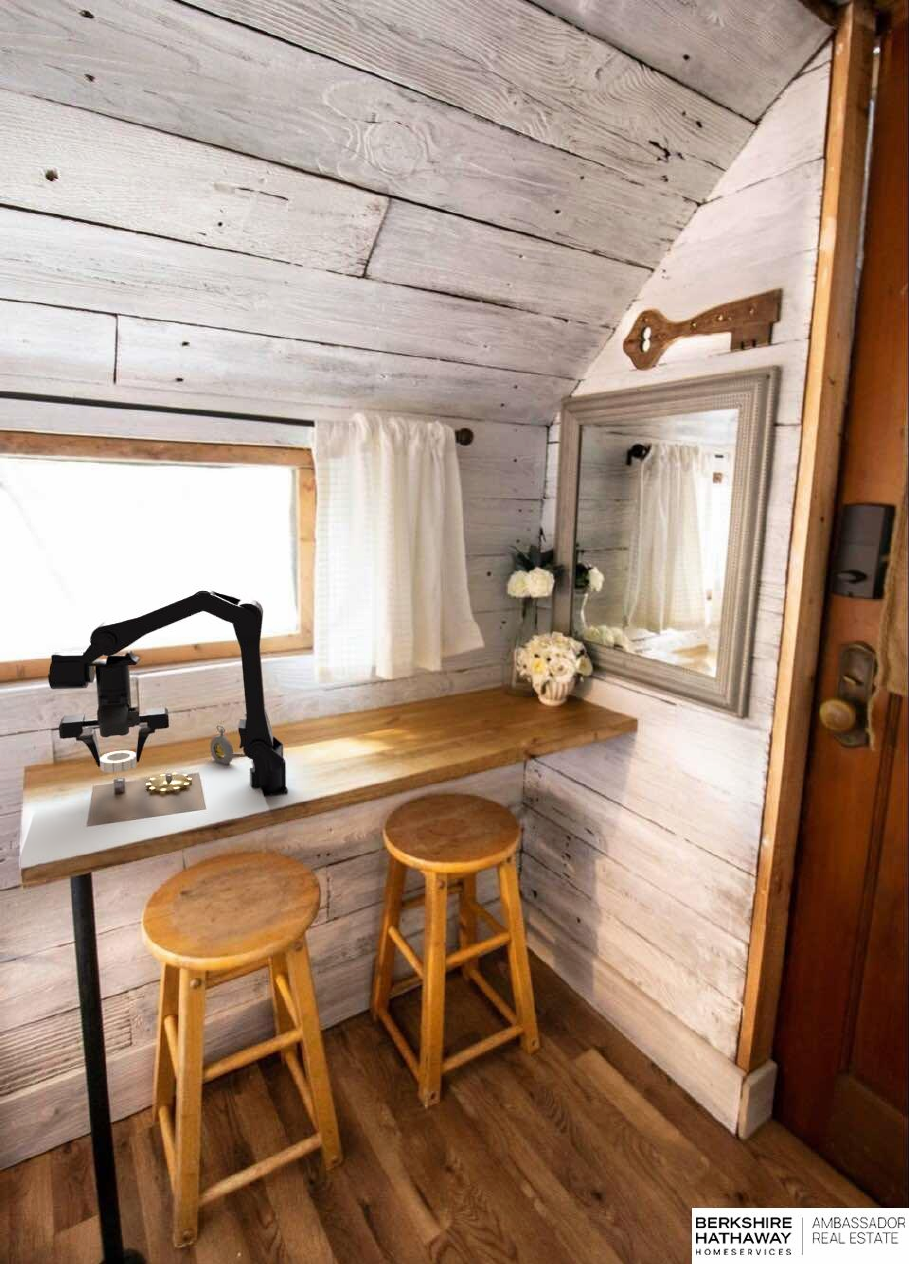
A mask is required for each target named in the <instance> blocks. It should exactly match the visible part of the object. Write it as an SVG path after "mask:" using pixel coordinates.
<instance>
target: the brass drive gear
mask: <svg viewBox="0 0 909 1264" xmlns="http://www.w3.org/2000/svg"><path fill="white" fill-rule="evenodd" d="M187 774H188V773H184V774H179V773H178V772H172V774H171V773H167V774H165V773H163V774H162V773H161V774H159V775H158V777H151V778H148V779H149V783H146V790H149V792H150V793H151V794H154V793H161V795H166V793H173V792H174V793H175V794H176V793H180V790H182V789H188V788H190V784H192V778H188V775H187Z"/></svg>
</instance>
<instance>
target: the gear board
mask: <svg viewBox="0 0 909 1264" xmlns="http://www.w3.org/2000/svg"><path fill="white" fill-rule="evenodd" d="M186 774H187V775H188V778H192V784H190V788H188V789H182V790H180V793H176V794H175V793H174V792H173V793H166V795H161V793H154V794H151V793H150V792H149V790H146V783H149V779H150V778H147V779H136V780H129V781H125V789H126V792H125V793H124V794H119V795H117V794H115V793H114V782H113V783H104V784H97V785H92V789H91V790H92V791H91V797H90V803H89V808H88V809H89V810H88V815H87V822H86V827H93V826H102V825H107V824H114V823H120V822H121V823H122V822H127V821H136V820H140V819H141V820H142V819H149V818H155V817H162V816H170V815H175V814H181V813H190V812H196V811H201V810H202V811H203V810H207V807H206V799H205V796H204V795H205V794H204V792H203V791H204V790H203V785H202V781H201V780H202V779H201V776H200V775H201V774H200V772H194V773H186Z"/></svg>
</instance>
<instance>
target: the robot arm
mask: <svg viewBox="0 0 909 1264" xmlns="http://www.w3.org/2000/svg"><path fill="white" fill-rule="evenodd" d="M201 612H206V613H208V614H209V615H212V616H214V617H216V618H218V619H220V620H222V621H225V622H228V623H229V624H231V625H232V626H233V630H234V634H235V638H236V640H237V642H238V645H239V649H240V653H241V654H240V656H241V665H242V666H241V667H242V668H241V669H242V679H243V688H244V689H243V690H244V700H245V702H244V703H245V712H246V716H245V719H244V718H243V719H242V718H240V719H239V723H238V728H237V732H238V736H239V738H240V742H239V749H242V751H243V754H245V755H246V756H247V758H248V759H249V758H250V759H249V760H252V761H251V762H252V763H251V764H252V767H250V768H249V784H250V787H251V789H260V790H261V791H262V794H263V796H264V797H267V796H274V795H275V796H276V795H280V794H281V795H282V794H287V793H289V790H288V787H287V781H286V780H287V777H286V775H287V771H286V770H287V769H286V768H287V767H286V763H287V762H286V760H285V758H284V744H283V742H281V741H280V740H279V739H277V738H276V737H275V736H274V733H273V730H272V729H273V728H272V726H271V721H270V719H269V715H268V714H267V710H266V704H265V703H266V702H265V693H264V692H265V690H264V678H263V677H264V676H263V669H262V668H263V665H262V655H261V653H262V652H261V640H262V639H261V636H262V628H263V618H264V608H263V606H262V604H261V603H260V602H259V601H257V600H255V599H253V598H243V599H241V598H238V597H235V596H234V595H229V594H226V593H221V592H218V591H215V590H213V589H211V588H208V587H201V588H199V589H198V590H196V591H195V592H192V593H190V594H187V595H185V596H182V597H180V598H177V599H175V600H172V601H170V602H167V603H165V604H163V605H160V606H157V607H155V608H152V609H151V610H148V611H146V612H143V613H140V614H135V615H129V616H123V617H118V618H114V619H109V620H106V621H105V622H103V623H101V624H100V625H99V626H97V627H96V628H95V629H94V630H93V631H92V632H91V634H90V638H89V643H90V644H89V646H88V647H87V648H86V649H85V650H84V651H83V652H76V653H75V652H73V653H67V652H55V653H53V654H52V655H51V656H50V659H51V660H50V661H51V662H50V664H49V671H48V672H49V673H48V674H47V678H48V680H47V681H48V685H49V688H50V689H51V690H76V689H87V688H88V686H89V684H92V683H94V680H95V682H96V683H95V684H96V694H97V695H96V698H97V710H96V715H97V718H88V719H86V716H85V713H82V714H71V715H64V716H63V717H62V718H61V719H60V722H59V725H58V734H59V739H63V740H65V739H74V738H75V741H76V742H82V743H84V744H85V745H86V747H87V748H88V750H89V751H90V753H91V755H92V757H93V759H94V760H95V761H94V762H95V764H96V765H97V767H98V768H99V767H100V757H101V752H100V747H99V742H98V737H97V732H96V729H99V735H100V736H101V738H110V737H116V736H121V737H122V736H127V735H128V734H129V733H130V728H135V727H136V726H138V730H137V738H136V739H137V741H136V752H135V753H136V757H137V763H139V762H140V759H141V756H142V753H143V750H144V746H145V743H146V741H147V739H148V737H149V735H152V734H154V733H155V732H156V730H164V729H168V728H170V721H169V720H170V719H169V710H168V708H166V706H161V707H150V708H146V710H145V711H146V713H142V714H141V713H140V707H139V706H132V697H131V695H132V693H131V680H130V679H131V678H130V666H137V664H138V663H139V662H140V660H141V658H140V657H139V656H137V655H136V654H134V652H132V650H128V651H127V652H126V653H125V654H118V653H120V652H121V651H123V650H125V649H126V648H127V647H129V646H131V645H133V644H134V643H135V642H137V641H138V640H139V639H141V638H143V637H144V636H146V635H148V634H150V633H153V632H155V631H158V630H160V629H163V628H165V627H168V626H170V625H172V624H175V623H177V622H181V621H182V620H185V619H187V618H189V617H192V616H194V615H198V614H199V613H201ZM102 656H105V657H106V659H105V658H104V659H99V658H101V657H102Z"/></svg>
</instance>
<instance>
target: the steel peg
mask: <svg viewBox="0 0 909 1264" xmlns="http://www.w3.org/2000/svg"><path fill="white" fill-rule="evenodd" d="M125 782H126V779H125V778H124V777H117V778H115V779H113V783H114V793H115V794H117V795H119V794H124V793H125V792H126V789H125Z"/></svg>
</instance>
